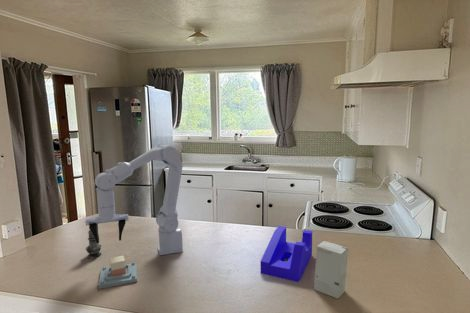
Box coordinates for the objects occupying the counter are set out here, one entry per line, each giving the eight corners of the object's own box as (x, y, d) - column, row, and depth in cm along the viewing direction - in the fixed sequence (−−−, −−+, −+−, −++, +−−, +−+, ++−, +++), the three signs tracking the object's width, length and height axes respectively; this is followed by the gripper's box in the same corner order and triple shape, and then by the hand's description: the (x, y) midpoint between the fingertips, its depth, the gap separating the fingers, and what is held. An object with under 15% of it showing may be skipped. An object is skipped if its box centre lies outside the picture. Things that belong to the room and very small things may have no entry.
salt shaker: (96, 259, 121) (93, 230, 119) (83, 258, 122) (80, 229, 120) (105, 252, 126) (103, 224, 125) (92, 251, 128) (90, 224, 126)
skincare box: (313, 290, 98) (314, 245, 95) (321, 282, 102) (322, 239, 100) (339, 300, 92) (341, 253, 90) (346, 291, 97) (348, 246, 95)
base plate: (136, 265, 115) (136, 260, 115) (137, 281, 104) (136, 276, 104) (101, 271, 111) (101, 266, 111) (98, 288, 100) (98, 283, 100)
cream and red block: (124, 268, 111) (123, 255, 110) (126, 274, 107) (125, 260, 106) (110, 271, 109) (109, 258, 108) (112, 277, 105) (111, 263, 104)
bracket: (278, 250, 127) (278, 226, 126) (311, 256, 121) (312, 231, 120) (260, 274, 108) (260, 246, 107) (298, 282, 102) (299, 253, 101)
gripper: (127, 200, 118) (129, 234, 120) (86, 204, 113) (89, 239, 115) (127, 205, 111) (129, 241, 113) (83, 210, 107) (86, 247, 109)
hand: (109, 241), depth 114 cm, fingers open, 7 cm apart
